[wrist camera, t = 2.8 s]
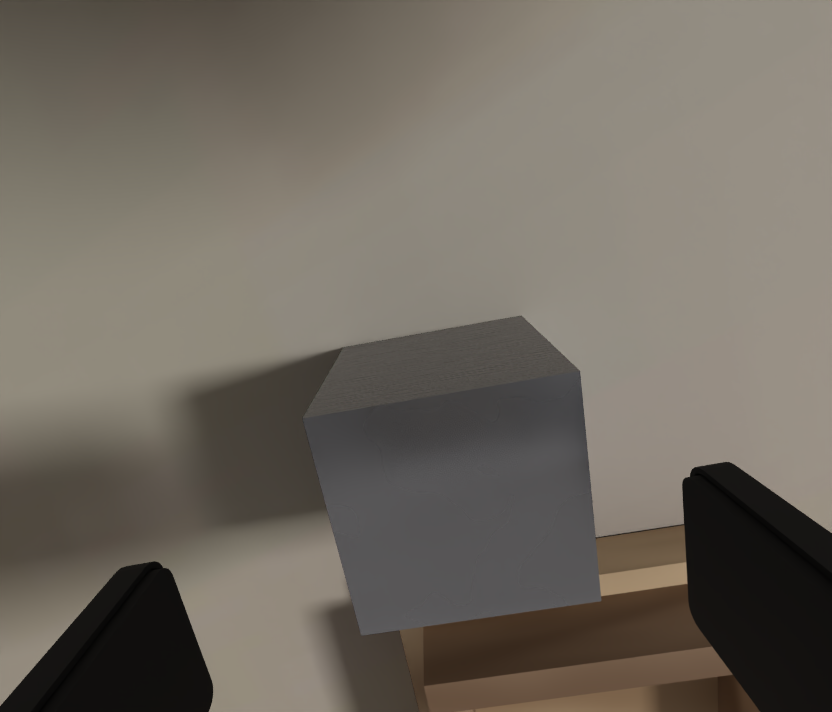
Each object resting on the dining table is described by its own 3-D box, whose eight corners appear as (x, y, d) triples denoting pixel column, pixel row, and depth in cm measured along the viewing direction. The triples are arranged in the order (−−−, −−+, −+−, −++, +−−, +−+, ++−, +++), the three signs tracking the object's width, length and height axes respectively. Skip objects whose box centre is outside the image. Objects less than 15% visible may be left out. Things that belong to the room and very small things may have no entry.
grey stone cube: (343, 346, 13) (302, 418, 9) (520, 314, 13) (579, 370, 8) (379, 499, 15) (361, 635, 10) (540, 473, 14) (601, 600, 10)
